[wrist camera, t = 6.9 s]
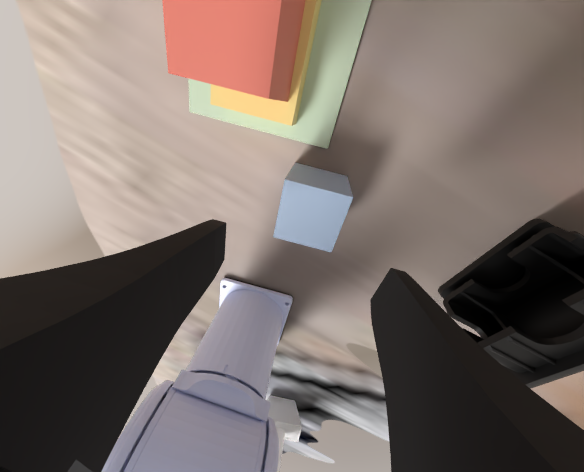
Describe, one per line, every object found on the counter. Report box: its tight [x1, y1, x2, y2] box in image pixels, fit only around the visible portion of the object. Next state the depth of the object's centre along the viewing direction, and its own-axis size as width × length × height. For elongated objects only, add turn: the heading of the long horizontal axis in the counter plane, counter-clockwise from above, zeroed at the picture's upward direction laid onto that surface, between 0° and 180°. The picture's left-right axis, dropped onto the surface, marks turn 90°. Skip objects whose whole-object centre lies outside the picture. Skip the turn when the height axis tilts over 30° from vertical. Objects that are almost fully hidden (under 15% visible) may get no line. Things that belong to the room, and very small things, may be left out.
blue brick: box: [273, 163, 353, 252], centre depth 15 cm, size 4×4×4 cm
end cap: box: [438, 219, 584, 388], centre depth 15 cm, size 10×7×7 cm
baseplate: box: [188, 0, 372, 149], centre depth 12 cm, size 10×10×1 cm
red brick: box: [163, 0, 306, 102], centre depth 8 cm, size 6×4×4 cm, turn 167°
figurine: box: [266, 395, 302, 472], centre depth 31 cm, size 7×9×15 cm
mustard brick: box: [210, 0, 322, 126], centre depth 11 cm, size 8×5×2 cm, turn 167°
